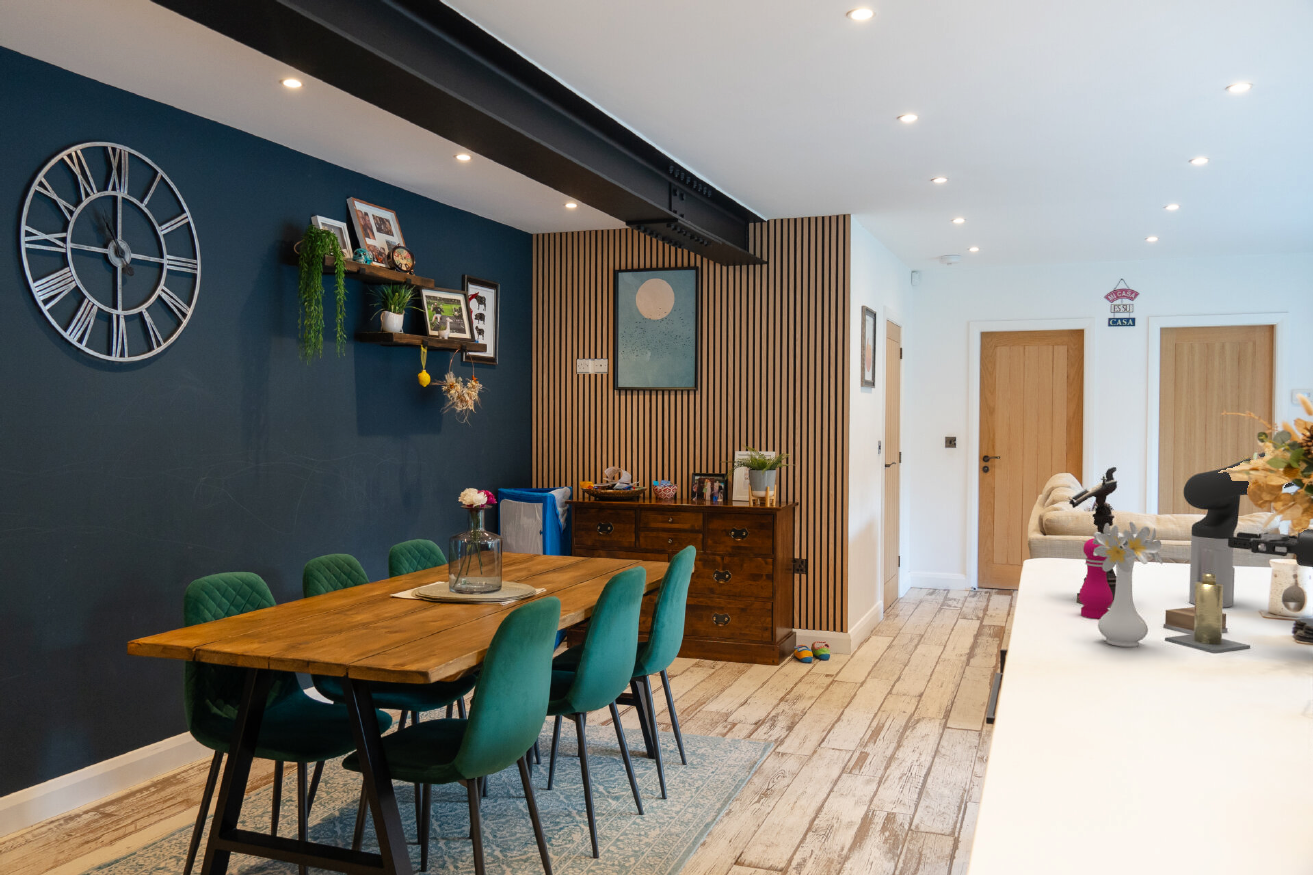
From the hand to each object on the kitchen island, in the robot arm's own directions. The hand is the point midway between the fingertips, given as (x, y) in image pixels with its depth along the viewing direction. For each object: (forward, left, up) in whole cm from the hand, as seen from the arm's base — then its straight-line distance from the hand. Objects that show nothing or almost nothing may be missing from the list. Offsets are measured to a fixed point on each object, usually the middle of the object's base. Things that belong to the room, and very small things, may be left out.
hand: (1232, 539), depth 196 cm
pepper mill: (+6, -29, -22) cm, 37 cm away
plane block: (-4, -11, -22) cm, 25 cm away
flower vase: (+23, -7, -22) cm, 32 cm away
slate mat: (+6, -1, -22) cm, 23 cm away
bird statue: (-6, -41, -22) cm, 47 cm away
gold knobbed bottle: (+5, -1, -21) cm, 22 cm away
